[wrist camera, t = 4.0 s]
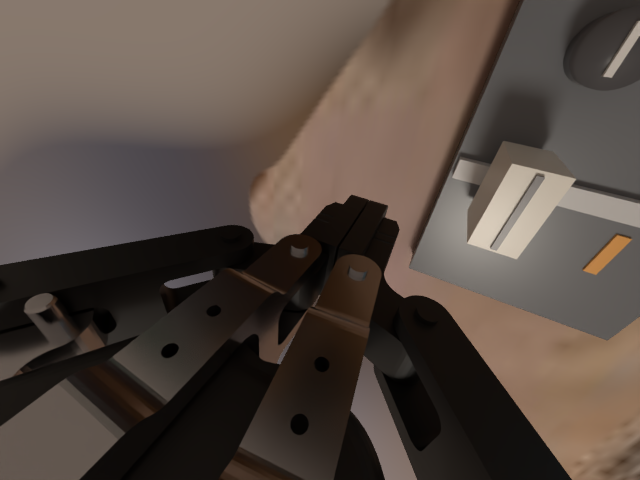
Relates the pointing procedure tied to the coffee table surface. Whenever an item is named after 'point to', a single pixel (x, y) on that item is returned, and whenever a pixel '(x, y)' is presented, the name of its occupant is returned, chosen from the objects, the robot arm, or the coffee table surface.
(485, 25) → the coffee table surface
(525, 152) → the fader cap
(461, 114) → the coffee table surface
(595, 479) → the coffee table surface
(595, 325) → the console board
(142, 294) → the robot arm
